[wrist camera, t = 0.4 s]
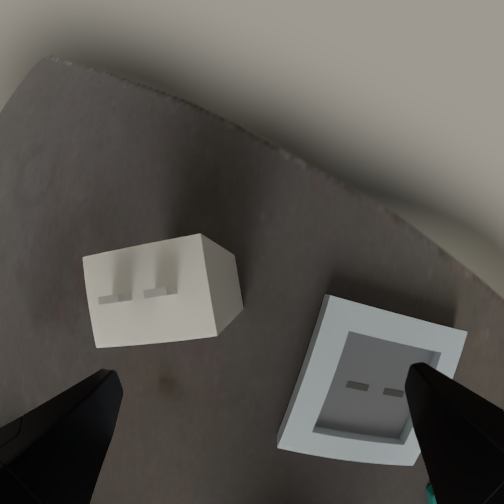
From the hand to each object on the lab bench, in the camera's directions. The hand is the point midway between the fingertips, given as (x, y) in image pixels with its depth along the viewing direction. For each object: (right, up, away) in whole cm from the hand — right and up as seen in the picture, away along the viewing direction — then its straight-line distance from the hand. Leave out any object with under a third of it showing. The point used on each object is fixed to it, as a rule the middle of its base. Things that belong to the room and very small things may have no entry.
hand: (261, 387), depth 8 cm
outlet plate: (+9, -7, +14) cm, 18 cm away
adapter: (-4, +1, +15) cm, 16 cm away
